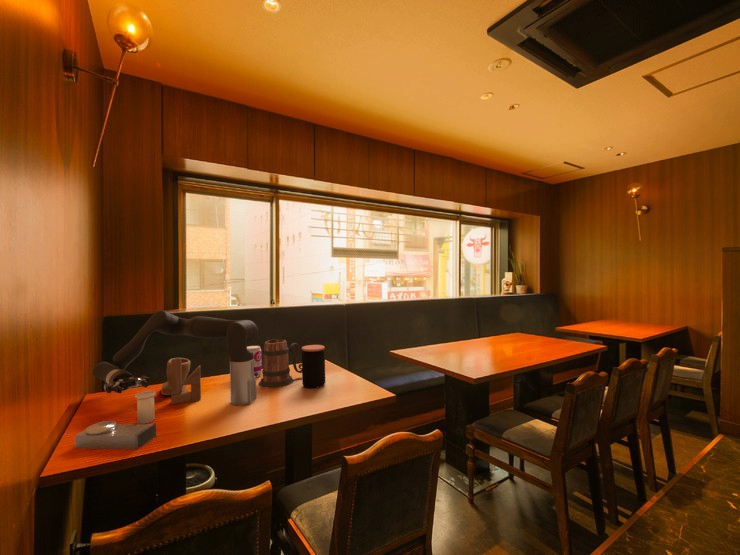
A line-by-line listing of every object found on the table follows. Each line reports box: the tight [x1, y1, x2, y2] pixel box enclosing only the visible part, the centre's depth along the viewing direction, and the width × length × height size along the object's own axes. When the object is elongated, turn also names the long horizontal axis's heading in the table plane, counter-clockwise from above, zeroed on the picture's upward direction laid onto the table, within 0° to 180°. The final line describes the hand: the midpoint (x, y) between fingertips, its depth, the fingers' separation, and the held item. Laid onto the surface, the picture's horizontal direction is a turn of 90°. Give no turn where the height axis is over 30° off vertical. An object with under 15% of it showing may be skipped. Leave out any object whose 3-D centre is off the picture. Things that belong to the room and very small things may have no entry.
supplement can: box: [247, 345, 263, 378], centre depth 181 cm, size 8×8×15 cm
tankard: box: [258, 339, 302, 389], centre depth 172 cm, size 24×17×20 cm
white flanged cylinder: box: [135, 390, 156, 425], centre depth 127 cm, size 6×6×10 cm
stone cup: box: [160, 357, 192, 396], centre depth 159 cm, size 15×12×15 cm
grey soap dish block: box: [74, 420, 157, 450], centre depth 111 cm, size 20×8×5 cm, turn 86°
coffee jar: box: [301, 344, 326, 390], centre depth 164 cm, size 11×11×18 cm
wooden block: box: [170, 357, 202, 405], centre depth 146 cm, size 4×11×18 cm, turn 114°
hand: (133, 387), depth 134 cm, fingers open, 8 cm apart
